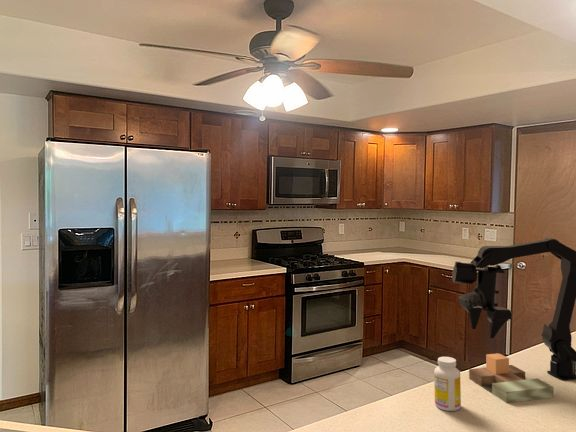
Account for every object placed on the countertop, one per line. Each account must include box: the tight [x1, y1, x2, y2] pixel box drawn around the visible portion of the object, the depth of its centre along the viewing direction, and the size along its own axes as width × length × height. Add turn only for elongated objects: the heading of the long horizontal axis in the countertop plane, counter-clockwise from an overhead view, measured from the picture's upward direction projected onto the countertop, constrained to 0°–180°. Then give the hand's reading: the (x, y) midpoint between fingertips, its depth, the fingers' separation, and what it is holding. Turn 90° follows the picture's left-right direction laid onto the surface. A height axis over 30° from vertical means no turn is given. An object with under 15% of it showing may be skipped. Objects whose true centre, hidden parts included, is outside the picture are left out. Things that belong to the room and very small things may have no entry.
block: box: [485, 352, 510, 374], centre depth 135 cm, size 4×4×4 cm
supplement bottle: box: [433, 356, 462, 412], centre depth 119 cm, size 7×7×13 cm
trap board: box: [468, 364, 555, 404], centre depth 130 cm, size 15×17×3 cm
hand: (482, 333), depth 142 cm, fingers open, 9 cm apart
